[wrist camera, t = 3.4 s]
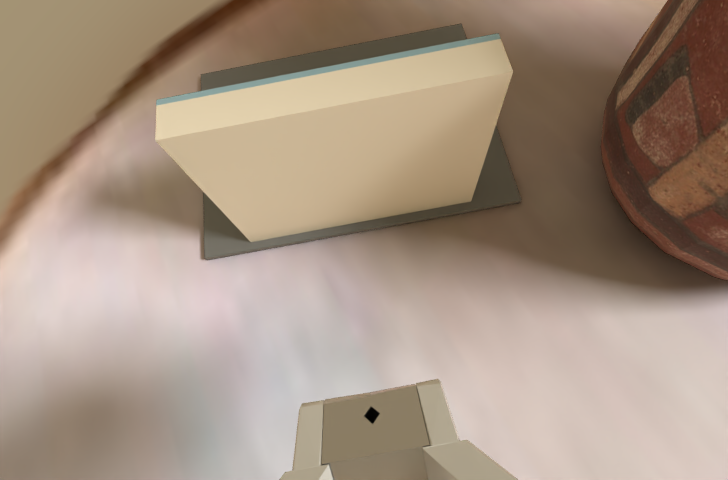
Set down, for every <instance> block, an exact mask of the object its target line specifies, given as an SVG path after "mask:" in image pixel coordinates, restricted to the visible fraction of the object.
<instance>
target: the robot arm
mask: <svg viewBox="0 0 728 480" xmlns="http://www.w3.org/2000/svg"><path fill="white" fill-rule="evenodd" d="M280 480H518V479H517V478H515V477H514V476H513V475H512V474H510V473H509V472H508V471H507V470H505V469H504V468H503V467H501V466H500V465H499V464H498V463H496V462H495V461H494V460H492V459H491V458H490V457H489V456H487V455H486V454H485V453H484V452H482V451H481V450H480V449H478V448H477V447H476V446H475V445H473V444H472V443H471V442H470V441H468V440H462V441H460V440H459V437H458V434H457V430H456V427H455V424H454V421H453V418H452V415H451V412H450V409H449V406H448V403H447V399H446V396H445V393H444V390H443V387H442V384H441V382H440V380H439V379H435V380H430V381H425V382H420V383H416V385H415V384H411V385H406V386H401V387H395V388H390V389H385V390H380V391H374V392H370V393H363V394H357V395H351V396H344V397H338V398H331V399H325V400H322V401H316V402H309V403H302V405H301V407H300V409H299V417H298V426H297V434H296V443H295V452H294V460H293V469H292V471H289V472H285V473H284V474H283V476H282V477H281V478H280Z"/></svg>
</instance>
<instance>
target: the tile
mask: <svg viewBox="0 0 728 480" xmlns="http://www.w3.org/2000/svg"><path fill="white" fill-rule="evenodd" d="M512 74H513V70H512V67H511V64H510V62H509V59H508V57H507V54H506V51H505V49H504V46H503V43H502V41H501V38H500V36H499V33H497V34H492V35H487V36H482V37H477V38H471V39H466V40H461V41H456V42H451V43H446V44H441V45H435V46H430V47H425V48H420V49H415V50H410V51H405V52H399V53H394V54H389V55H384V56H379V57H374V58H369V59H363V60H358V61H353V62H348V63H343V64H338V65H333V66H327V67H322V68H317V69H312V70H307V71H302V72H297V73H291V74H286V75H281V76H276V77H271V78H266V79H261V80H255V81H250V82H245V83H240V84H235V85H230V86H225V87H219V88H214V89H209V90H204V91H199V92H194V93H189V94H183V95H178V96H173V97H168V98H163V99H158V100H157V101H156V134H155V141H156V142H157V143H158V144H159V145H160V146H161V147H162V148H163V149H164V150H165V151H166V152H167V153H168V154H169V156H170V157H171V158H172V159H173V160H174V161H175V162H176V163H177V164H178V165H179V166H180V167H181V168H182V169H183V170H184V172H185V173H186V174H187V175H188V176H189V177H190V178H191V179H192V180H193V181H194V182H195V183H196V184H197V185H198V186H199V188H200V189H201V190H202V191H203V192H204V193H205V194H206V195H207V196H208V197H209V198H210V199H211V200H212V201H213V202H214V203H215V205H216V206H217V207H218V208H219V209H220V210H221V211H222V212H223V213H224V214H225V215H226V216H227V217H228V218H229V219H230V221H231V222H232V223H233V224H234V225H235V226H236V227H237V228H238V229H239V230H240V231H241V232H242V233H243V234H244V235H245V237H246V238H247V239H248V240H249V241H250V242H255V241H260V240H266V239H271V238H277V237H282V236H287V235H293V234H298V233H304V232H309V231H314V230H320V229H325V228H331V227H336V226H341V225H347V224H352V223H358V222H363V221H368V220H374V219H379V218H385V217H390V216H395V215H401V214H406V213H412V212H417V211H422V210H428V209H433V208H439V207H444V206H449V205H455V204H460V203H466V202H471V200H472V197H473V194H474V191H475V188H476V185H477V182H478V179H479V176H480V173H481V169H482V166H483V163H484V160H485V157H486V154H487V151H488V148H489V145H490V142H491V139H492V136H493V133H494V129H495V126H496V123H497V120H498V117H499V114H500V111H501V108H502V105H503V102H504V99H505V96H506V93H507V89H508V86H509V83H510V80H511V77H512Z"/></svg>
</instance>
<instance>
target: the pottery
mask: <svg viewBox="0 0 728 480" xmlns="http://www.w3.org/2000/svg"><path fill="white" fill-rule="evenodd" d="M601 152H602V160H603V166H604V169H605V172H606V175H607V178H608V182H609V185H610V188H611V191H612V194H613V195H614V197H615V198H616V200H617V201H618V203H619V204H620V206H621V207H622V209H623V210H624V212H625V213H626V215H627V216H628V218H629V219H630V221H631V222H632V223H633V224H634V225H635V226H636V227H637V228H638V229H639V230H640V231H642V232H643V233H644V234H645V235H646V236H647V237H648V238H649V239H650V240H651V241H653V242H654V243H655V244H656V245H657V246H658V247H659V248H660V249H661V250H662V251H664V252H665V253H667V254H669V255H671V256H673V257H675V258H677V259H679V260H681V261H683V262H685V263H687V264H689V265H691V266H693V267H695V268H697V269H699V270H701V271H703V272H705V273H707V274H709V275H711V276H713V277H715V278H719V279H724V280H728V0H668V1H667V2H666V4H665V5H664V7H663V8H662V9H661V11H660V12H659V14H658V15H657V17H656V18H655V19H654V21H653V22H652V24H651V25H650V27H649V28H648V29H647V31H646V32H645V34H644V35H643V37H642V38H641V39H640V41H639V43H638V44H637V46H636V48H635V49H634V51H633V53H632V54H631V56H630V58H629V59H628V61H627V63H626V64H625V66H624V68H623V70H622V72H621V74H620V76H619V78H618V80H617V82H616V84H615V86H614V88H613V90H612V92H611V94H610V96H609V98H608V100H607V104H606V108H605V112H604V120H603V130H602V140H601Z"/></svg>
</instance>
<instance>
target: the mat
mask: <svg viewBox="0 0 728 480" xmlns="http://www.w3.org/2000/svg"><path fill="white" fill-rule="evenodd" d="M466 39H467V38H466V35H465V32H464V29H463V27H462V24H457V25H452V26H446V27H441V28H436V29H431V30H426V31H421V32H416V33H411V34H405V35H400V36H395V37H390V38H385V39H380V40H375V41H370V42H365V43H359V44H354V45H349V46H344V47H339V48H334V49H329V50H324V51H318V52H313V53H308V54H303V55H298V56H293V57H288V58H283V59H277V60H272V61H267V62H262V63H257V64H252V65H247V66H242V67H237V68H231V69H226V70H221V71H216V72H211V73H206V74H201V91H204V90H209V89H214V88H219V87H225V86H230V85H235V84H240V83H245V82H250V81H255V80H261V79H266V78H271V77H276V76H281V75H286V74H291V73H297V72H302V71H307V70H312V69H317V68H322V67H327V66H333V65H338V64H343V63H348V62H353V61H358V60H363V59H369V58H374V57H379V56H384V55H389V54H394V53H399V52H405V51H410V50H415V49H420V48H425V47H430V46H435V45H441V44H446V43H451V42H456V41H461V40H466ZM520 201H521V197H520V194H519V191H518V188H517V185H516V182H515V179H514V176H513V174H512V171H511V168H510V165H509V162H508V159H507V156H506V153H505V150H504V147H503V144H502V141H501V138H500V135H499V132H498V129H497V126H495V129H494V133H493V136H492V139H491V142H490V145H489V148H488V151H487V154H486V157H485V160H484V163H483V166H482V169H481V173H480V176H479V179H478V182H477V185H476V188H475V191H474V194H473V197H472V200H471V202H466V203H460V204H455V205H449V206H444V207H439V208H433V209H428V210H422V211H417V212H412V213H406V214H401V215H395V216H390V217H385V218H379V219H374V220H368V221H363V222H358V223H352V224H347V225H341V226H336V227H331V228H325V229H320V230H314V231H309V232H304V233H298V234H293V235H287V236H282V237H277V238H271V239H266V240H260V241H255V242H250V241H249V240H248V239H247V238H246V237H245V235H244V234H243V233H242V232H241V231H240V230H239V229H238V228H237V227H236V226H235V225H234V224H233V223H232V222H231V221H230V219H229V218H228V217H227V216H226V215H225V214H224V213H223V212H222V211H221V210H220V209H219V208H218V207H217V206H216V205H215V203H214V202H213V201H212V200H211V199H210V198H209V197H208V196H207V195H206V194H205V193H204V192H203V204H204V254H205V259H206V260H212V259H217V258H222V257H228V256H233V255H239V254H244V253H250V252H255V251H260V250H266V249H271V248H277V247H282V246H287V245H293V244H298V243H304V242H309V241H314V240H320V239H325V238H331V237H336V236H342V235H347V234H352V233H358V232H363V231H369V230H374V229H379V228H385V227H390V226H396V225H401V224H407V223H412V222H417V221H423V220H428V219H434V218H439V217H444V216H450V215H455V214H461V213H466V212H471V211H477V210H482V209H488V208H493V207H499V206H504V205H509V204H515V203H520Z"/></svg>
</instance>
